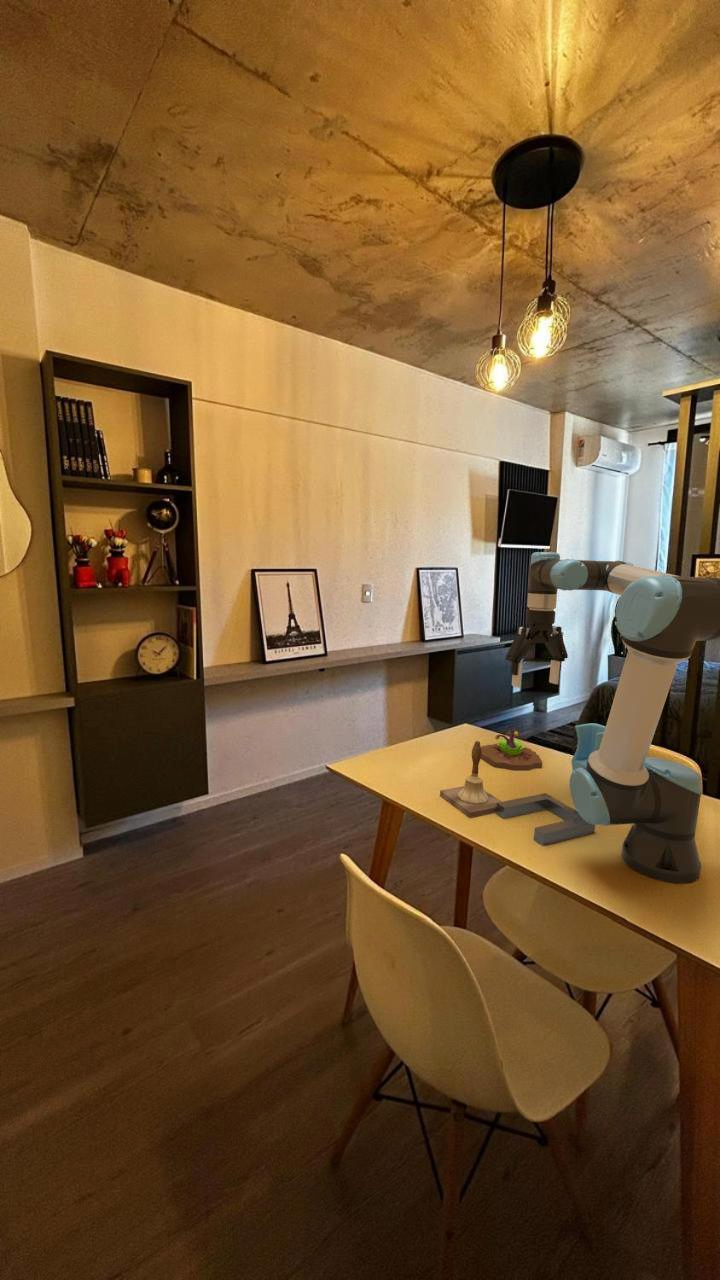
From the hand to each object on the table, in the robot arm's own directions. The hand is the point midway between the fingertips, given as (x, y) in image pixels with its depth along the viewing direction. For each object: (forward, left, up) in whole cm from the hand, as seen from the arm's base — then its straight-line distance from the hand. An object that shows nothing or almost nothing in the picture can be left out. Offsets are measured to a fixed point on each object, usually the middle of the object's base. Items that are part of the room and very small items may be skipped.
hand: (535, 685), depth 147 cm
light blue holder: (-8, -16, -32) cm, 37 cm away
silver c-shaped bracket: (-16, +9, -32) cm, 37 cm away
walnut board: (0, +19, -32) cm, 37 cm away
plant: (+23, -13, -32) cm, 42 cm away
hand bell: (0, +19, -30) cm, 36 cm away
